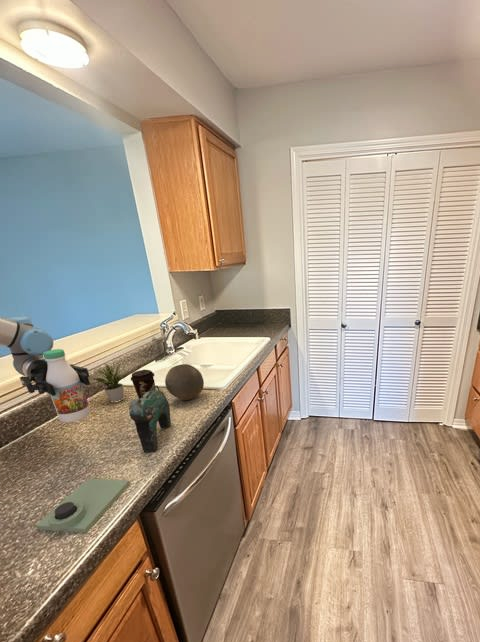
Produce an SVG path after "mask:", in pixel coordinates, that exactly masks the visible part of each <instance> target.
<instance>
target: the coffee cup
mask: <svg viewBox="0 0 480 642" xmlns="http://www.w3.org/2000/svg"><path fill="white" fill-rule="evenodd" d="M154 377H155V373H154V372H153V371H152V370H150V369H140V370H137V371H133V372H132V373H131V376H130V381H131V382H132V384H133V387H134V391H135V392H136V395H137V399H141V398H142V396H141V393H140V387H141V385H142V384H146V386H145V385H143V386H142V391H141V392H142V395H144V394H145V393H147V392H148V391H150V389H151V388H152V387H153V386H156V382H155V379H154ZM155 390H157V389H156V387H155V388H153V389H152V391H155Z"/></svg>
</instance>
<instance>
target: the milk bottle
mask: <svg viewBox="0 0 480 642" xmlns="http://www.w3.org/2000/svg"><path fill="white" fill-rule="evenodd" d="M43 357H44V359H45V361H47V363H48V370H47V376H46V382H47V383H49V384H51V385H53V388H54V390H55V393H56V395H55V396H52V395H50V398H51V401H52V403H53V407H54V408H55V409H54V410H55V411H56V415H57V417H58V419H59V421H60V422H61V423H75V422H79V421H82V420H84V419H85V418H87V417H89V416H90V415H91V413H92V412H91V408H90V404H89V402H88V399H87V396H86V393H85V388H84V387H83V383H81V381H80V378H79V376H78V374H77V373H76V371H75V370H74V369H73V368H72V367H71V366H70V364H69V362H68V361H67V359H66V358H67V356H66V353H65V351H64V349H62V348H53V349H51V350H49V351H46V352H44V353H43Z"/></svg>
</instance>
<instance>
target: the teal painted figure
mask: <svg viewBox="0 0 480 642" xmlns="http://www.w3.org/2000/svg"><path fill="white" fill-rule="evenodd" d="M143 385H145V386H146V384H142V385H141V387H140V393H141V396H142V398H141V399H139V398H135V399H132V400H131V401H130V402H129V406H128V413H129V417H130V419H131V420H132V421H133V422H134V425H135V428H136V433H137V436H138V439H139V441H140V446H141V448H142V451H143V453H145V454H146V453H156V452H157V450H158V448H159V444H158V436H157V435H158V434H157V433H158V432H157V431H158V430H157V426H158V425H159V428H160V429H161V428H162V429H169V428H171V425H172V420H171V407H170V404H169V400H168V398H167V396H166V395H165V394H164V392H163V391H162V390H160V388H159V386H158V385H155V386H153V387H152V388H151V389H150V391H148V392H147V393H145V394H144V395H142V392H141V391H142V386H143ZM153 388H155V389H156V388H157V389H156V390H155V391H152V389H153Z"/></svg>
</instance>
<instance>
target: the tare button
mask: <svg viewBox="0 0 480 642" xmlns="http://www.w3.org/2000/svg"><path fill="white" fill-rule="evenodd" d="M57 506H58V505H57ZM57 506H56V507H57ZM56 507H55V508H56ZM55 508H54V509H55ZM75 512H76V508H75V506H74V503H72V502H67V503H63V504H61V505H60V506H58V507H57V508H56V509H55V514H56V517H57V519H59V520H62V519H65V518H68V517H70V516H71V515H73V514H74V513H75Z"/></svg>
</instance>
